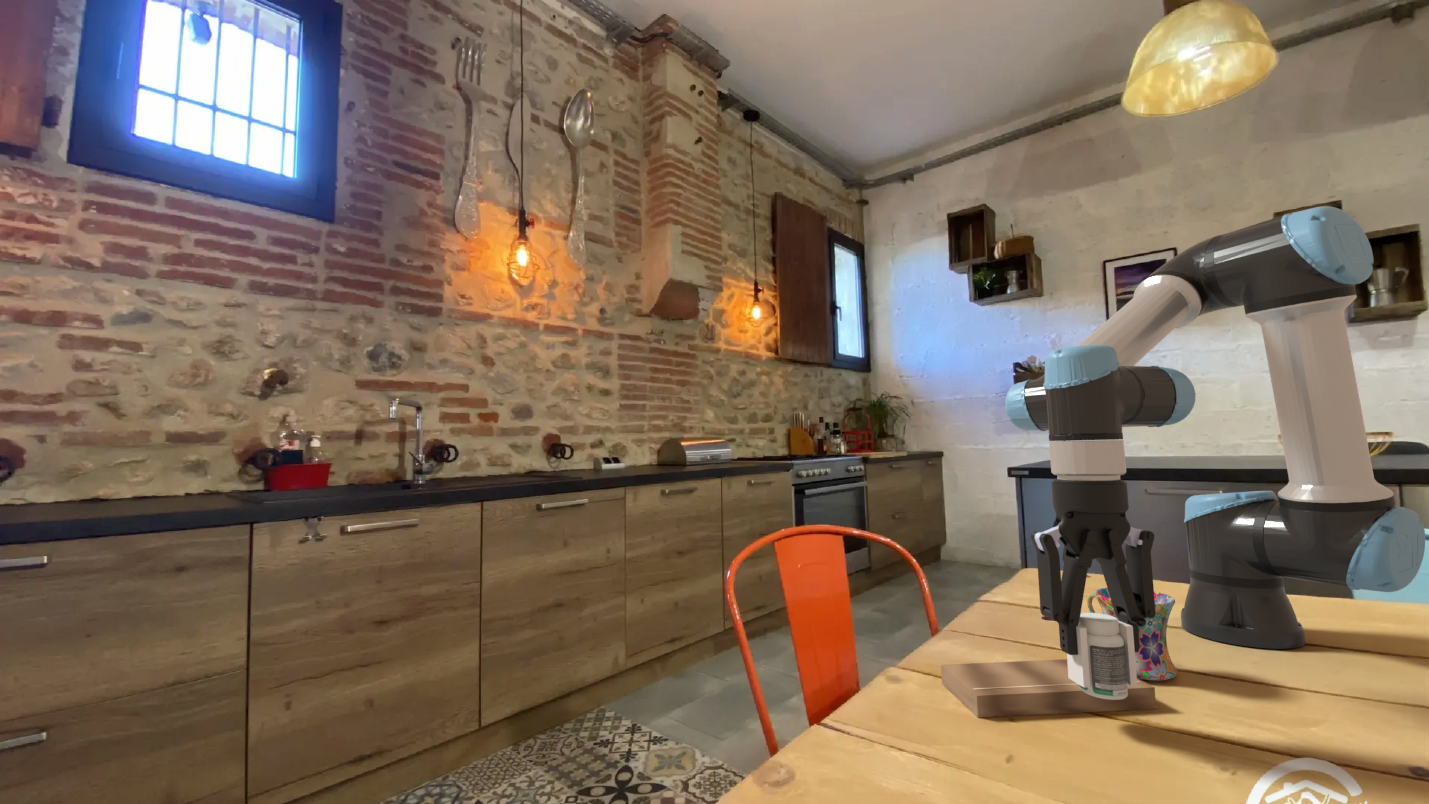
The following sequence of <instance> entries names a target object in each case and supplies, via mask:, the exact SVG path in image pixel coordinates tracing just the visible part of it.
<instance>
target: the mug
mask: <svg viewBox="0 0 1429 804" xmlns="http://www.w3.org/2000/svg"><path fill="white" fill-rule="evenodd" d="M1095 598H1096V599H1097V602H1098V604H1099V607H1100V608H1101V611H1102V614H1106V615H1110V616H1113V617H1115V618H1117V619H1118V620H1119V618H1118V617H1117V616H1116V614H1115V611H1114V607H1113V604H1112V601H1111V598H1110V594H1109V591H1108V588H1107V587H1100V588H1097V589H1095V590H1094V592H1093V594H1091V595H1089V596H1088V598H1087V601H1086V603H1087V608H1088V611H1089V613H1096V611H1095V610H1094V607H1093V600H1094V599H1095ZM1154 600H1155V612H1156V613H1155V616H1154V617H1153V618H1148V617H1147V618H1145V620H1146V624H1145V625H1144V626H1143V627H1140V626H1138V630H1139V643H1140V649H1139V652H1135V662H1136V675H1137V679H1139V680H1141V681H1165V680H1166V681H1167V680H1172V679H1173V678H1175V677H1176V676H1177V675H1178V669H1177V667H1175V665H1174V662H1173V661H1172V659H1171V656H1170V653H1169V649H1168V643H1167V631H1168V630H1167V628H1168V623H1169V618H1170V615H1171V612H1172V610H1173V607H1174V606H1175V603H1176V599H1175V598H1174V597H1172V595H1169V594H1166V593H1162V592H1159V591H1155V590H1154Z"/></svg>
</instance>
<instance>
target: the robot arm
mask: <svg viewBox="0 0 1429 804" xmlns="http://www.w3.org/2000/svg"><path fill="white" fill-rule="evenodd" d="M1374 259H1375V258H1374V254H1373V250H1372V245H1371V243H1370V241H1369V238H1368V236H1367V234H1366V233H1365V231H1364V230H1363V228H1362V227H1361V225H1360V224H1359V223H1358V222H1357V221H1356V219H1355V218H1353V217H1352V216H1351V215H1350V213H1348V212H1346V211H1345V210H1342V209H1340V208H1338V207H1334V206H1328V205H1324V206H1317V207H1312V208H1308V209H1303V210H1300V211H1295V212H1289V213H1285V214H1284V215H1280V216H1277V217H1275V218H1272V219H1268V220H1265V221H1261V222H1259V223H1255V224H1253V225H1248V226H1246V227H1243V228H1240V229H1236V230H1234V231H1230V232H1227V233H1223V234H1220V235H1215V236H1212V237H1208V238H1207V239H1204V240H1201V241H1200V242H1197V243H1196V244H1194V245H1192V246H1190V247H1188V248H1186V249H1185V250H1183V251H1182V252H1180V253H1178V254H1177V255H1175V256H1174V257H1173V258H1170V260H1168V261H1167V262H1165V263H1164V264H1162V265H1161V266H1160V267H1158V268H1157V269H1156V270H1154V271H1153V272H1152V273H1150V274H1149V275H1148V276H1147V277H1146V278H1145V279H1144V280H1142V281H1141V282H1140V283H1139V284H1138V285H1137V287H1136V289H1135V290H1134V292H1133V296H1132V298H1131V299H1130V300H1129V301H1128V302H1126V304H1124V305H1123V306H1122V307H1121V308H1120V309H1119V310H1117V311H1116V312H1115V313H1114V314H1113V315H1111V316H1110V318H1108V319H1107V320H1106V321H1104V323H1102V324H1101V325H1100V326H1099V327H1098V328H1096V329H1095V330H1094V331H1093V332H1092V333H1091V334H1089V335H1088V336H1087V337H1086V338H1085V339H1084V340H1083V341H1081V342H1080V343H1079V344H1077V345H1075V346H1069V347H1063V348H1058V349H1054V350H1052V351H1050V352H1049V353H1048V354H1046V356H1045V358H1044V374H1042V376H1039V378H1037V379H1036V378H1035V379H1027V380H1025V381H1022V382H1021V381H1020V382H1017V383H1014V384H1013V385H1012V386H1011V387H1010V388H1009V389H1008V392H1007V393H1006V396H1005V401H1004V407H1005V408H1004V410H1005V412H1006V415H1007V416H1008V419H1009V421H1011V423H1012V424H1013V425H1014V426H1015V427H1016V428H1019V429H1020V430H1025V431H1040V432H1046V431H1048V441H1049V442H1048V444H1049V459H1050V470H1051V471H1050V473H1052V474H1053V475H1054V476H1057V477H1056V478H1054V479H1052V481H1051V495H1052V498H1051V499H1052V507H1053V509H1054V511H1055V512H1054V513H1055V519H1054V521H1053V523H1052V527H1050V528H1049V529H1046V530H1044V531H1041V532H1040V531H1032V532H1031V534H1030V539H1031V541H1032V543H1033V545H1034V548H1035V550H1036V561H1037V575H1038V576H1037V578H1038V590H1039V591H1038V592H1039V609H1040V614H1041V615H1042V616H1043V617H1046V618H1047V619H1049V620H1051V621H1054V622H1057V624H1058V633H1059V647H1060V649H1061V651H1062V652H1063V653H1066V659H1067V664H1068V678H1069V679H1071V680H1072V681H1074V682H1076V683H1077V684H1079V685H1081V686H1082V687H1084V688H1085V687H1090V674H1089V659H1088V645H1087V631H1086V628H1085V627H1083V626H1081V625H1079V620H1080V614H1081V613H1082V606H1083V601H1084V595H1085V587H1086V582H1087V576H1088V575H1087V574H1088V570H1089V569H1090V568H1091V567H1092V565H1093V560H1096V562H1098V563H1099V565H1100V568H1101V571H1102V574H1103V578H1104V581H1105V585H1106V588H1108V591H1109V594H1110V598H1111V601H1112V604H1113V607H1114V611H1115V614H1116V616H1117V617H1118V618H1119V620H1118V623H1119V633H1117V634H1118V635H1120V636H1121V637H1122V638H1123V641H1124V648H1125V661H1126V674H1127V684H1129V685H1137V675H1136V662H1135V652H1139V649H1140V643H1139V630H1138V626H1140V627H1143V626H1144V625H1145V624H1146V620H1145V618H1147V617H1148V618H1153V617H1154V616H1155V613H1156V612H1155V600H1154V591H1155V590H1154V588H1155V587H1154V577H1153V565H1152V564H1153V563H1152V553H1151V552H1152V548H1153V546H1154V545H1153V544H1154V541H1155V534H1154V532H1153V531H1152V530H1145V529H1140V528H1136V527H1133V526H1131V523H1130V522H1129V521H1128V518H1127V516H1126V514H1127V513H1126V512H1127V511H1129V496H1128V495H1129V493H1128V483H1127V482H1125V481H1126V480H1124V479H1121V476H1124V475H1125V474H1126V473H1127V463H1126V453H1125V442H1124V441H1125V440H1124V434H1123V428H1130V427H1131V428H1132V427H1148V428H1154V427H1156V428H1161V427H1164V426H1171V425H1175V424H1178V423H1180V422H1181V421H1183V420H1185V418H1187V417H1188V416H1189V415H1190V414H1191V412H1192V410H1193V408H1194V407H1195V403H1196V395H1197V393H1196V391H1195V386H1194V385H1193V382H1192V381H1191V379H1190V378H1189V377H1188V376H1187V375H1185V374H1184V373H1183V372H1181V371H1180V370H1177V369H1174V368H1172V367H1171V368H1169V367H1164V366H1159V365H1155V364H1153V365H1149V366H1143V365H1142V366H1141V365H1140V366H1137V364H1138V363H1139V362H1140V361H1141V360H1142V359H1143V358H1144V357H1145V356H1146V355H1147V354H1148V353H1150V351H1152V350H1153V349H1154V348H1155V347H1156V346H1157V345H1158V344H1159V343H1161V342H1162V340H1164V339H1165V338H1166V337H1167V336H1168V335H1169V334H1170V333H1172V332H1173V331H1174V330H1175V329H1178V328H1182V327H1185V326H1187V325H1189V324H1190V323H1193V321H1195V320H1196V319H1197V318H1198V317H1200V316H1203V315H1205V314H1209V313H1212V312H1216V311H1221V310H1225V309H1231V308H1236V307H1241V306H1243V309H1244V314H1245V317H1246V318H1247V319H1250V320H1252V321H1253V322H1255V323H1257V324H1259V325H1260V326H1261V332H1262V337H1263V343H1264V349H1265V353H1266V359H1267V365H1268V370H1269V371H1268V372H1269V375H1270V382H1271V387H1272V392H1273V398H1274V403H1275V410H1276V415H1277V421H1278V427H1279V430H1280V438H1281V442H1282V448H1283V453H1284V458H1285V460H1284V461H1285V465H1286V470H1287V475H1288V477H1287V478H1288V482H1287V484H1285V486H1284V487H1282V488H1281V489H1280V490H1279V491H1278V492H1277V495H1276V493H1275V491H1273V490H1257V491H1256V490H1255V491H1254V490H1253V491H1237V492H1236V491H1235V492H1221V493H1206V494H1195V495H1192V496H1189V498H1187V499H1186V500H1185V504H1184V519H1183V523H1184V524H1185V533H1186V535H1185V537H1186V543H1187V552H1188V553H1187V554H1188V555H1187V557H1188V564H1189V565H1188V566H1189V576H1190V578H1189V579H1190V583H1189V586H1188V590H1187V594H1186V598H1185V601H1184V606H1183V608H1182V609H1181V611H1180V622H1181V627H1182V629H1183V630H1185V631H1186V632H1188V633H1190V634H1193V635H1195V636H1198V637H1201V638H1204V639H1208V640H1211V641H1216V642H1219V643H1220V642H1221V643H1225V644H1230V645H1236V646H1243V647H1249V648H1250V647H1251V648H1258V649H1270V650H1271V649H1274V650H1280V649H1281V650H1285V649H1288V650H1289V649H1295V648H1300V647H1303V646H1305V645H1306V638H1305V630H1304V627H1303V624H1301V622H1299V621H1298V619H1297V616H1296V612H1295V611H1294V607H1293V605H1292V603H1291V602H1290V599H1289V598H1288V596H1287V593H1286V590H1285V582H1284V578H1288V579H1295V580H1301V581H1308V582H1313V583H1314V582H1315V583H1321V584H1328V585H1331V586H1333V585H1334V586H1337V587H1344V588H1349V589H1350V590H1355V591H1359V590H1360V591H1361V590H1365V591H1372V592H1382V593H1391V592H1392V593H1393V592H1398V591H1401V590H1403V589H1405V588H1406V587H1407V586H1409V585H1410V584H1411V583H1412V582H1413V580H1415V578H1416V576H1417V574H1418V572H1419V570H1420V569H1421V566H1422V563H1423V560H1424V557H1425V556H1424V555H1425V548H1426V532H1425V526H1424V523H1423V521H1422V520H1421V519H1420V515H1419V514H1418V513H1417V512H1416V511H1414V510H1412V509H1410V508H1406V507H1404V506H1397V505H1396V499H1395V494H1394V492H1393V490H1391V489H1390V488H1388V487H1387V486H1384V485H1383V484H1381V483H1379V482H1378V481H1377V480H1376V479H1375V476H1374V471H1373V464H1372V459H1371V454H1370V449H1369V443H1368V439H1367V438H1368V437H1367V432H1366V427H1365V421H1364V416H1363V411H1362V406H1361V400H1360V396H1359V389H1358V383H1357V379H1356V373H1355V368H1354V361H1353V356H1352V352H1351V345H1350V341H1349V335H1348V334H1349V333H1348V330H1347V329H1348V328H1347V323H1346V319H1345V318H1346V317H1345V313H1344V312H1345V310H1346V308H1348V307H1349V306H1350V305H1351V304H1352V303H1353V302H1354V301H1355V300H1356V299H1357V298H1358V296H1357V290H1356V286H1357V284H1358V285H1359V284H1361V283H1363V282H1364V281H1366V280H1368V279H1369V278H1370V276H1371V275H1372V274H1373V272H1374V271H1373V270H1374V267H1373V264H1374ZM1355 285H1356V286H1355ZM1059 541H1061V543H1062V545H1064V546H1063V551H1062V557H1061V558H1062V559H1061V558H1060V554H1059V553H1060V552H1059V550H1058V548H1060V546H1061V544H1060V543H1059ZM1124 543H1125V552H1124V550H1123V547H1122V546H1123V544H1124ZM1124 553H1125V554H1124ZM1061 560H1062V561H1063V568H1062V575H1061Z"/></svg>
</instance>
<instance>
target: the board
mask: <svg viewBox="0 0 1429 804" xmlns="http://www.w3.org/2000/svg"><path fill="white" fill-rule="evenodd" d="M940 669H941V671H940V674H941V684H942V686H943V687H945V688H946V689H947V690H948V691H949V692H950V693H951V694H952V695H953V696H955V698H956V699H958V700H959V701H960V702H961V703H962V704H963V705H964V706H965V707H966V708H967V709H968V710H970V711H971V713H972V714H974V716H976V718H993V717H1013V716H1015V717H1016V716H1017V717H1019V716H1034V715H1035V716H1036V715H1055V714H1075V713H1076V714H1078V713H1095V712H1096V713H1097V712H1098V713H1099V712H1100V713H1101V712H1115V711H1116V712H1118V711H1134V710H1135V711H1138V710H1154V709H1157V704H1156V703H1157V701H1156V700H1157V699H1156V691H1155V686H1153V685H1151V684H1149V683H1148V682H1145V681H1144V680H1142V679H1137V685H1129V684H1127V686H1128V696H1127V697H1126V698H1125V699H1121V700H1110V699H1102V698H1097V697H1094V696H1091V695H1089V694H1087V693H1085V692H1083V691H1082V690H1081V689H1080V687H1079V684H1077V683H1076V682H1074V681H1072V680H1071V679H1069V678H1068V664H1067V658H1065V659H1062V658H1061V659H1042V660H1041V659H1040V660H1021V661H1019V660H1018V661H1017V660H1015V661H1000V662H999V661H996V662H994V661H993V662H976V663H974V662H973V663H972V662H971V663H956V664H954V663H952V664H951V663H949V664H940Z"/></svg>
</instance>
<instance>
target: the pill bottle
mask: <svg viewBox="0 0 1429 804" xmlns="http://www.w3.org/2000/svg"><path fill="white" fill-rule="evenodd" d="M1079 625H1081V626H1083V627H1085V628H1086V631H1087V645H1088V659H1089V674H1090V687H1085V688H1084V687H1082V686H1081V685H1079V687H1080V689H1081V690H1082V691H1083V692H1085V693H1087V694H1089V695H1091V696H1094V697H1097V698H1102V699H1110V700H1121V699H1125V698H1126V697H1127V696H1128V686H1127V674H1126V661H1125V648H1124V641H1123V638H1122V637H1121V636H1120V635H1118V634H1117V633H1119V623H1118V619H1117V618H1115V617H1113V616H1110V615H1106V614H1103V613H1099V612H1095V613H1090V612H1081V614H1080V620H1079Z"/></svg>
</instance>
